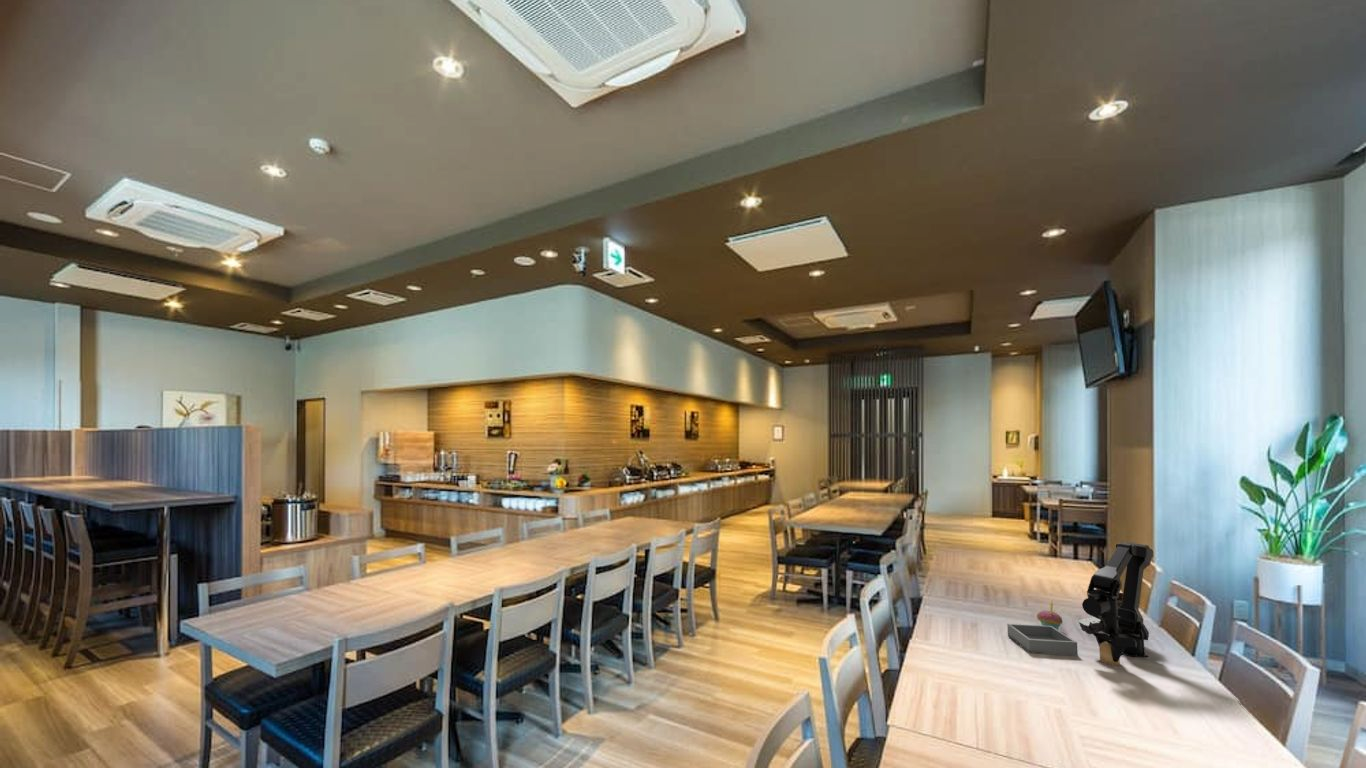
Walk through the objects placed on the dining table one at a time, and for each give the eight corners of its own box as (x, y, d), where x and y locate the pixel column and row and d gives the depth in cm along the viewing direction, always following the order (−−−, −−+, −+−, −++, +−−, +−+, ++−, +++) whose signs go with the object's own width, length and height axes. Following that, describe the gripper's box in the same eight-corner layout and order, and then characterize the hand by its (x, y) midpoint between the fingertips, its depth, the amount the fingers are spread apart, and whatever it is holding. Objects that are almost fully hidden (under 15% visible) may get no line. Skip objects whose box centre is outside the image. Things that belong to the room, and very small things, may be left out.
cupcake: (1068, 634, 210) (1066, 602, 211) (1046, 633, 211) (1044, 602, 211) (1053, 626, 219) (1052, 596, 220) (1032, 625, 219) (1031, 595, 220)
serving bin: (1052, 638, 206) (1051, 626, 207) (1077, 655, 190) (1077, 642, 191) (1007, 635, 208) (1007, 623, 208) (1029, 652, 192) (1029, 639, 193)
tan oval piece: (1112, 659, 188) (1112, 639, 188) (1123, 665, 183) (1122, 645, 183) (1096, 658, 189) (1095, 638, 189) (1106, 664, 183) (1105, 644, 184)
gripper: (1066, 601, 197) (1068, 645, 196) (1099, 619, 179) (1102, 668, 177) (1099, 603, 196) (1101, 647, 195) (1136, 621, 177) (1139, 670, 176)
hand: (1109, 658), depth 186 cm, fingers closed on tan oval piece, 5 cm apart
